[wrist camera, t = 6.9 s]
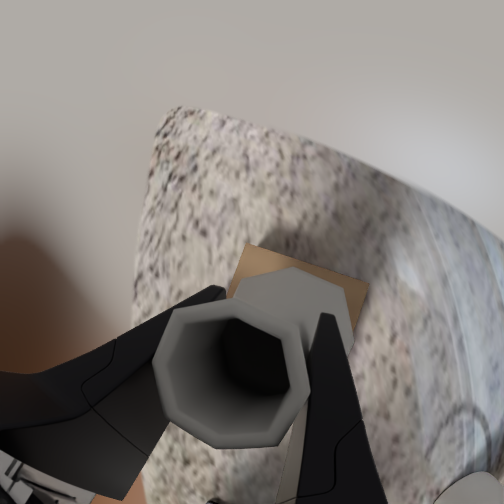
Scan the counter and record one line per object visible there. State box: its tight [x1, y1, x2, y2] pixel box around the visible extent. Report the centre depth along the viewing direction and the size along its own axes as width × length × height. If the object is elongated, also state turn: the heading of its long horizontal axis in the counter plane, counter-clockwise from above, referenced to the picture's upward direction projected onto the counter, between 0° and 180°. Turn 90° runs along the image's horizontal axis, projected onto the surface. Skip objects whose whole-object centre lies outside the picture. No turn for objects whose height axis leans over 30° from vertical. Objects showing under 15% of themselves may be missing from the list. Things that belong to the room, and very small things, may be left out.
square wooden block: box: [226, 243, 369, 331], centre depth 20 cm, size 9×9×3 cm
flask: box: [152, 267, 354, 449], centre depth 10 cm, size 7×7×10 cm
